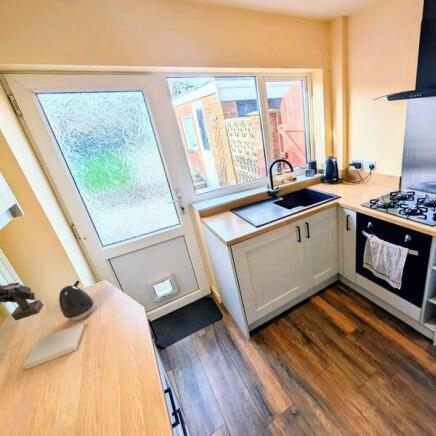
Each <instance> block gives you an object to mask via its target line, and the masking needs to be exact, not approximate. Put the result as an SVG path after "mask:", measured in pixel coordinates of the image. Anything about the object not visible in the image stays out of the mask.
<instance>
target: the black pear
mask: <svg viewBox="0 0 436 436" xmlns="http://www.w3.org/2000/svg"><path fill="white" fill-rule="evenodd" d="M79 284H80V280H76V281H75V283H74V284H73V285H72V284H71V285H66V286H64V287H63V288H62V289H61V290H60V291H59V294H58V302H59V308H60V311H61V314H62V315H63V317H64V318H66V319H67V320H70V321H81V320H83V319H85V318H86V317H88V316H89V315H91V313H92V312H93V310H94V306H95V305H94V304H95V302H94V300H93V298H92V297H91V296H90V295H89V294H88V293H87V292H86V291H85V290H83V289H82V288H81V287H79Z"/></svg>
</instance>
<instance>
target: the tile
mask: <svg viewBox="0 0 436 436" xmlns="http://www.w3.org/2000/svg"><path fill="white" fill-rule="evenodd" d="M84 329H85V326H84V324H83V323H79V324H76V325H73V326H71V327H67V328H65V329H63V330H59V331H57V332H53V333H51V334H48V335H46V336H45V335H44V336H43V337H40V338H37V340H36V341H35V343H34V345H33V347H32V348H31V351H30V352H29V354H28V356H27V358H26V359H25V361H24V363H23V364H22V366H23V367H24V369H25V370H29V369H32V368H34V367H36V366H39V365H41V364H44V363H46V362H49V361H52V360H54V359H57V358H59V357H62V356H65V355H68V354H69V353H72V352H75V351H76V350H77V348H78V345H79V342H80V339H81V337H82V334H83V332H84Z"/></svg>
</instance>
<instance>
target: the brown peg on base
mask: <svg viewBox="0 0 436 436" xmlns="http://www.w3.org/2000/svg"><path fill="white" fill-rule="evenodd" d="M6 285H7V286H12V285H14V282H11V283H8V284H6ZM12 298H13V299H14V300H15V302H16V304H17V307H16V308H15V309H14V311H13V312H12V313H11V318H13V319H14V321H19V320H23V319H25V318H29V317H31V316H35V315H37V314H38V315H39V313H40V312H41V310H42V308H43V307H44V304H43V302H42V301H41V300H40V299H38V300H33V301H31V302H29V301H28V299H21V297H12ZM15 302H14V303H15Z"/></svg>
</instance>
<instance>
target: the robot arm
mask: <svg viewBox="0 0 436 436" xmlns="http://www.w3.org/2000/svg"><path fill="white" fill-rule="evenodd" d="M13 283H14V282H13ZM7 285H8V284H6V285H2V284H0V304H1V303H16V302H15V300H14V299H13V298H12V297H21V299H26V300H27V301H28V300H29V301H36V300H35V299H36V297H35V296H36V295H35V292H32V290H31V287H29V286H25V285H24V284H23V285H22V284H20V282H15V283H14V285H12V286H7ZM16 304H17V303H16Z"/></svg>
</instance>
